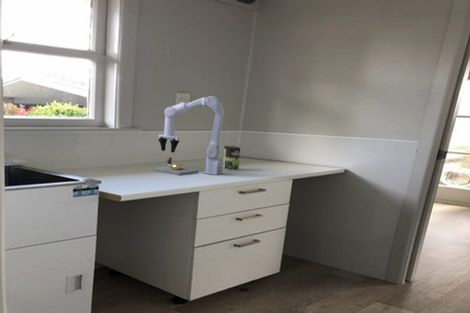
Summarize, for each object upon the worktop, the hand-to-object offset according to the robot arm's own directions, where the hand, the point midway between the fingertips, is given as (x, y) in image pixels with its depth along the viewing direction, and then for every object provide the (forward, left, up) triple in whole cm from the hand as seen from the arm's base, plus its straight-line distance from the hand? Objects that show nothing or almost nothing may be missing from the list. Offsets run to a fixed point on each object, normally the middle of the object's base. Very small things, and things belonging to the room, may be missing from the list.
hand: (168, 151), depth 266 cm
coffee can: (-21, -35, -11) cm, 43 cm away
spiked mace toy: (-7, +2, -9) cm, 11 cm away
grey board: (-9, +2, -10) cm, 14 cm away
